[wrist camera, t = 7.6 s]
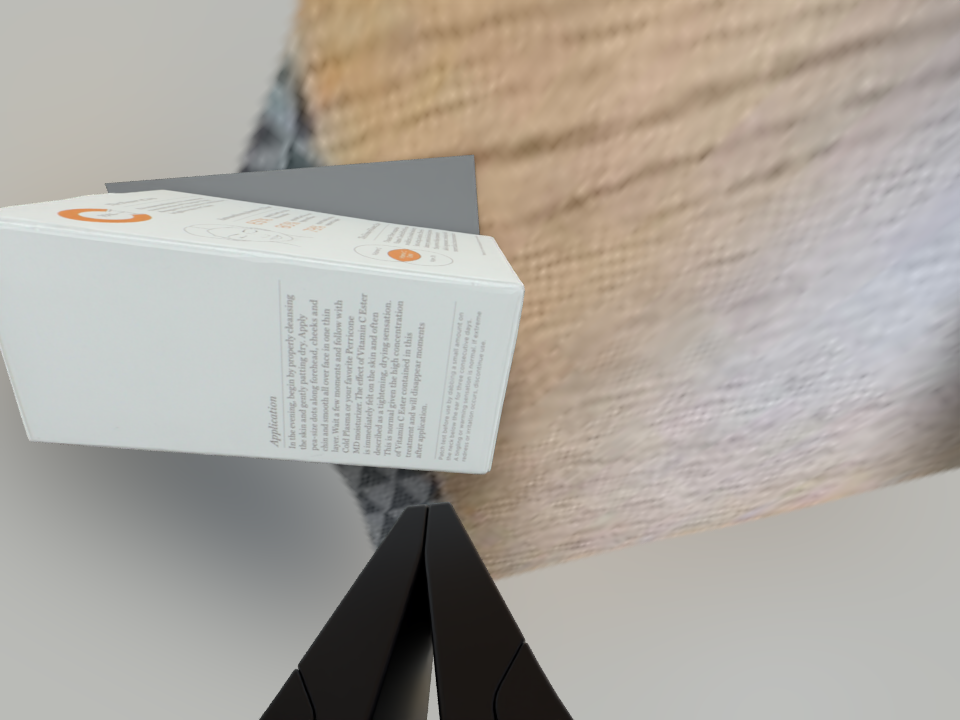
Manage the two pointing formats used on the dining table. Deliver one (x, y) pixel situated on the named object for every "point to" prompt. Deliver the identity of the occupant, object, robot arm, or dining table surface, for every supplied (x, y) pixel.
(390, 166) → the mat
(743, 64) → the dining table surface
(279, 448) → the small box
